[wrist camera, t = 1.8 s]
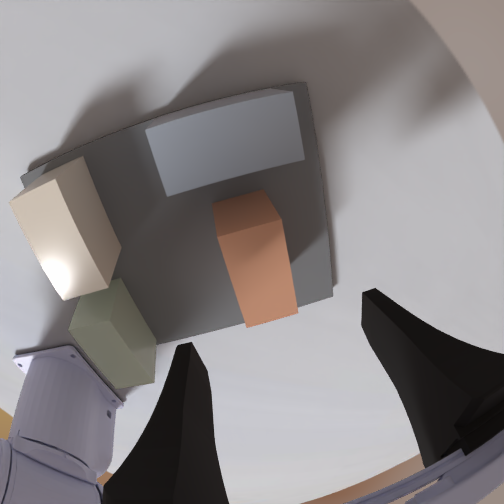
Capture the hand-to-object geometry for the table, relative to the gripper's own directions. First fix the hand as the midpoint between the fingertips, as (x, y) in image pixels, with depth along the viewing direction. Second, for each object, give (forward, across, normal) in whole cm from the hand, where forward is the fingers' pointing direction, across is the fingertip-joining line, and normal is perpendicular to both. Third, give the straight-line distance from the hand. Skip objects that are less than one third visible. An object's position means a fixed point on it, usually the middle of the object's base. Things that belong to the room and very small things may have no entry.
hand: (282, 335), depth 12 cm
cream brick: (+8, +9, -5) cm, 13 cm away
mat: (+8, +4, -1) cm, 9 cm away
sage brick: (+8, +10, +3) cm, 13 cm away
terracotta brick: (+8, 0, 0) cm, 8 cm away
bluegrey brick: (+8, 0, -7) cm, 11 cm away
